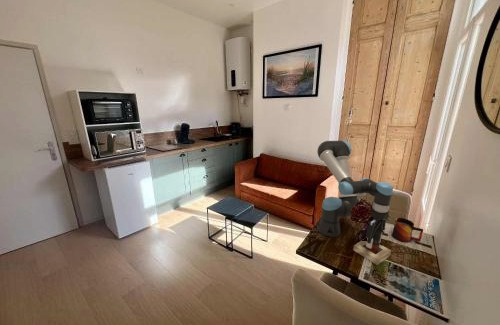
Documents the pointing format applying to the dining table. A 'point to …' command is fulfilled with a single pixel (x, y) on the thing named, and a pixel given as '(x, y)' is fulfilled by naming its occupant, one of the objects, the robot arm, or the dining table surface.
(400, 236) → the mug
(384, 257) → the socket block
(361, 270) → the dining table surface
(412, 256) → the dining table surface
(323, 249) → the dining table surface
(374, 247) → the deodorant
